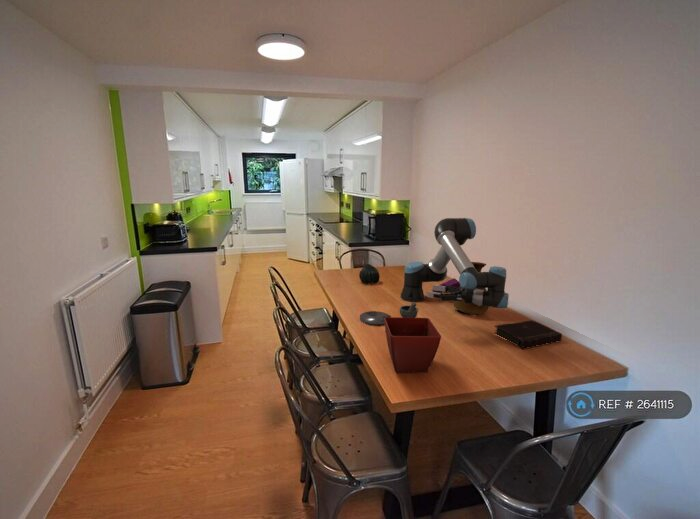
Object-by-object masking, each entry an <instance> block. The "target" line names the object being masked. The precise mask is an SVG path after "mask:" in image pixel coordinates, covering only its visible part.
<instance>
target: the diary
mask: <svg viewBox="0 0 700 519" xmlns="http://www.w3.org/2000/svg"><path fill="white" fill-rule="evenodd" d="M494 328H496V334H497V335H499V336H501V337H503V338H505V339H507V340H509V341H511V342H513V343H515V344H517V345H520V346H521V347H520V346H519V347H520V348H526V349H528V348H527V347H531V348H533V347H532V346H535V347H537V346H536V345H540V346H543V345H542V344H545V345H547V344H546V343H549V344H552V343H551V342H554V343H557V342H556V341H560V342H561V341H562V337H563V334H562V332H559V331H557V330H555V329H552V328H551V327H549V326H547V325H544V324H542V323H540V322H538V321H535V320H531V319H530V320H525V321H520V322H513V323H503V324H496V325H494ZM509 341H508V342H509ZM511 342H510V343H511ZM513 343H512V344H513ZM515 344H514V345H515ZM517 345H516V346H517ZM522 346H523V347H522Z"/></svg>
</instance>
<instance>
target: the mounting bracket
mask: <svg viewBox="0 0 700 519" xmlns="http://www.w3.org/2000/svg"><path fill="white" fill-rule="evenodd" d="M438 285H439V286H448V285H449V286H453V287H456V288H459V287H460V282H459V280H457V279H456V278H455V277H454V278H452V279H450V280H447V281H445V282H443V283H440V284H438ZM431 290H432V291H431V292H436V293H442V294H443V293H444V291H436V290H433V288H432V289H431ZM445 291H446V290H445Z"/></svg>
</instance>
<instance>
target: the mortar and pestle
mask: <svg viewBox="0 0 700 519" xmlns="http://www.w3.org/2000/svg"><path fill="white" fill-rule="evenodd" d="M418 312H419V308H418V307H417V302H411V304H410V305H402V306H400V307H399V314H400V316H401V317H402V318H417V316H418Z"/></svg>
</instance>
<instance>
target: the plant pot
mask: <svg viewBox="0 0 700 519" xmlns="http://www.w3.org/2000/svg"><path fill="white" fill-rule="evenodd" d="M384 319H385V325H384V327H385V337H386V343H387V348H388V351H389V355H390V356H389V357H390V360H391V363H392V365H393V368H394V369H393V370H394V371H395V373H417V372H419V373H420V372H422V373H423V372H426V373H427V372H428V371H429V369H430V367H431V365H432V364H433V362H434V359H435V357H436V355H437V352H438V349H439V346H440V343H441V339H442V335H441V334H440V332H439V331H438V329H437V328H436V326H435V325H434V324H433V322H432V321H431V319H430V318H428V317H415V318H403V317H402V316H401V317H399V316H398V317H392V316H391V317H385V318H384ZM419 373H418V374H419ZM422 373H421V374H422ZM423 374H424V373H423Z"/></svg>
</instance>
